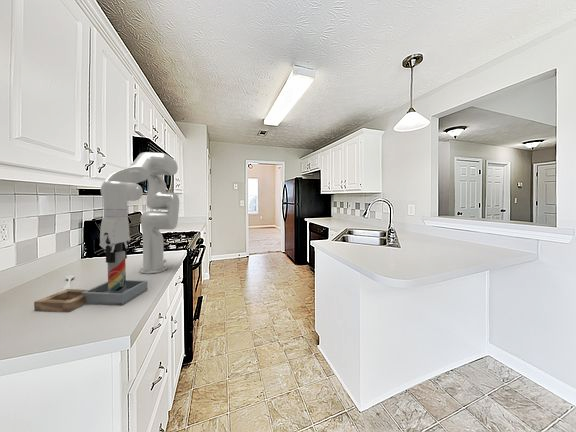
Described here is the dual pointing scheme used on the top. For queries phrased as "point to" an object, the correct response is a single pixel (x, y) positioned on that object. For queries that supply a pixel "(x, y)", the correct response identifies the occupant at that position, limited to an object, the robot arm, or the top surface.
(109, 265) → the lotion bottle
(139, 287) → the tray
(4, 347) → the top surface
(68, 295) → the socket stand
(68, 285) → the fork
